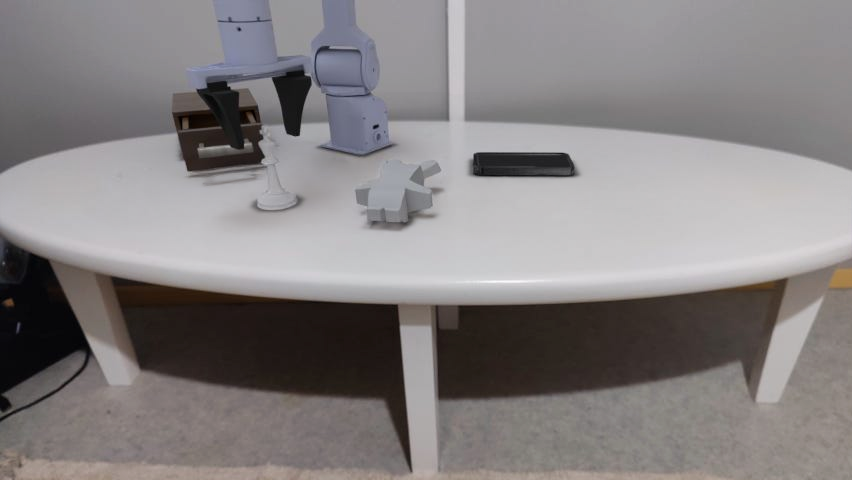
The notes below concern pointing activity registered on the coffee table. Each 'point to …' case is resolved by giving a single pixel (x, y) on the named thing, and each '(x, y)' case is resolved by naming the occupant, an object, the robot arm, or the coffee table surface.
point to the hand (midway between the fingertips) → (266, 141)
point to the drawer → (218, 142)
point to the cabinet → (195, 105)
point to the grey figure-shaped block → (397, 190)
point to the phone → (522, 163)
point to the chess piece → (273, 178)
